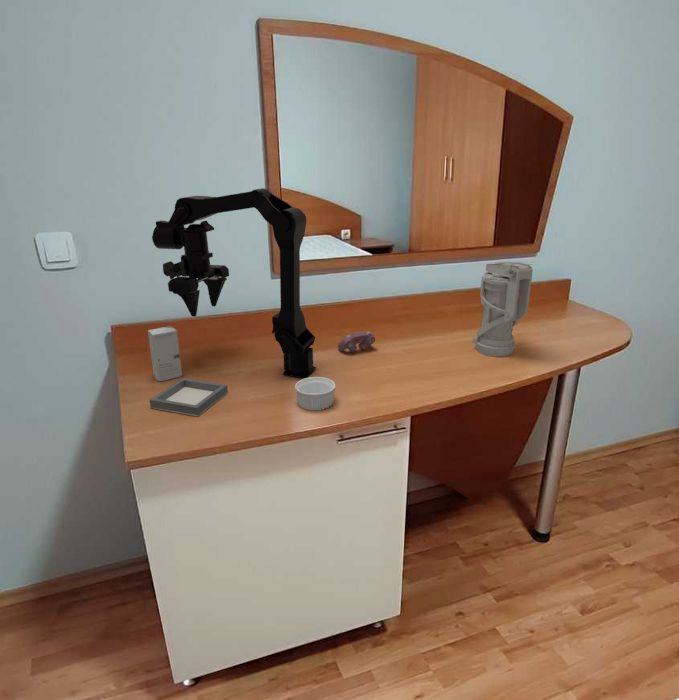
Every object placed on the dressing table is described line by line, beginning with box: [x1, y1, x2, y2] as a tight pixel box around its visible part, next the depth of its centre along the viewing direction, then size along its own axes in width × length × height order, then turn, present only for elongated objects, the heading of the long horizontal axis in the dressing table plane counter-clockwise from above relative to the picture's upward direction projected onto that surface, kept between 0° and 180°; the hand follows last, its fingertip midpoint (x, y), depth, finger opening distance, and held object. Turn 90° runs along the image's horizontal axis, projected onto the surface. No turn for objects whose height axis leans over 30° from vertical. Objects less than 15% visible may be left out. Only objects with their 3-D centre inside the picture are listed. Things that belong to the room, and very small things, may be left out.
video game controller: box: [337, 330, 376, 353], centre depth 141 cm, size 10×5×7 cm, turn 114°
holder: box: [149, 377, 229, 417], centre depth 114 cm, size 12×12×2 cm
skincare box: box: [147, 326, 183, 382], centre depth 125 cm, size 6×4×12 cm
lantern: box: [472, 261, 534, 358], centre depth 136 cm, size 13×10×25 cm
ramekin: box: [294, 376, 336, 411], centre depth 113 cm, size 9×9×4 cm
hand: (204, 311), depth 131 cm, fingers open, 9 cm apart
